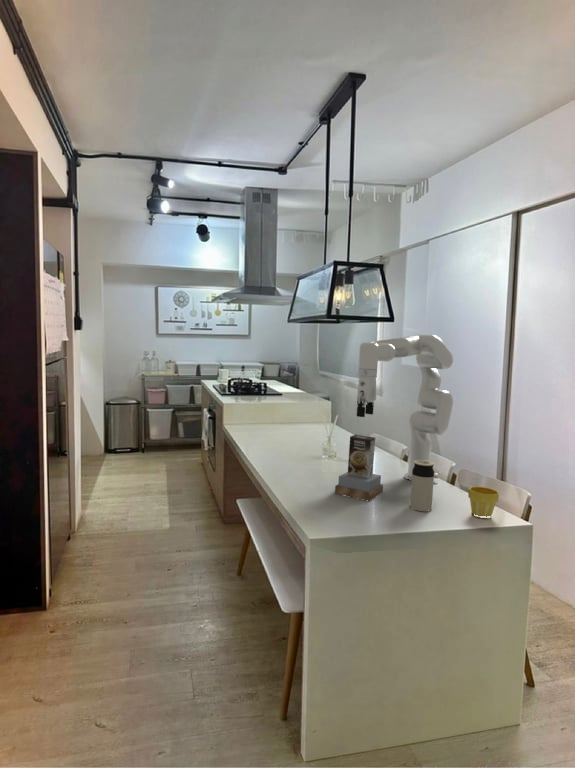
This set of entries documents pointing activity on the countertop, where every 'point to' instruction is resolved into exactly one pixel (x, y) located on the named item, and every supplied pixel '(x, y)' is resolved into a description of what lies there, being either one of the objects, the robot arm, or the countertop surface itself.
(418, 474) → the travel mug
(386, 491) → the countertop surface
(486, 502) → the plant pot
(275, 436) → the countertop surface
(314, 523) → the countertop surface
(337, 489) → the tower base walnut
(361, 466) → the coffee box
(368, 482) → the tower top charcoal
